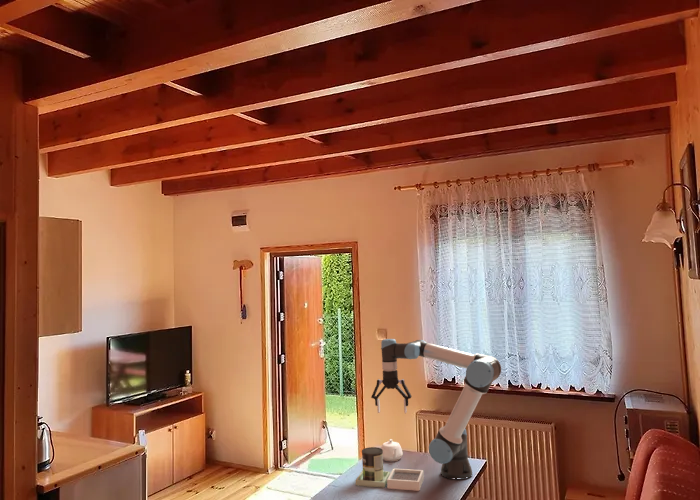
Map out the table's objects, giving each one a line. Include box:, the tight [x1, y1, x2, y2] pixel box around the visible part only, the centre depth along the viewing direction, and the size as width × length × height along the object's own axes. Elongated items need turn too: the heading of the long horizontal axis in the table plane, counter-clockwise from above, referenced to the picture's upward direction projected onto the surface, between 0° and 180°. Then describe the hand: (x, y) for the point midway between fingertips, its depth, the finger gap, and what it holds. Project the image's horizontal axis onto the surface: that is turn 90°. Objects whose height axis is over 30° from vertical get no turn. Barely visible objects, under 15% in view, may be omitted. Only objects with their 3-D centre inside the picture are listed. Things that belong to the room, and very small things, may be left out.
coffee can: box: [361, 446, 384, 482], centre depth 256 cm, size 10×10×14 cm
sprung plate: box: [392, 472, 420, 481], centre depth 252 cm, size 12×12×1 cm
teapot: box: [380, 438, 404, 462], centre depth 287 cm, size 20×12×10 cm, turn 10°
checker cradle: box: [386, 468, 425, 492], centre depth 251 cm, size 15×15×4 cm
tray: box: [355, 469, 391, 489], centre depth 256 cm, size 14×14×2 cm
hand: (392, 412), depth 266 cm, fingers open, 13 cm apart
